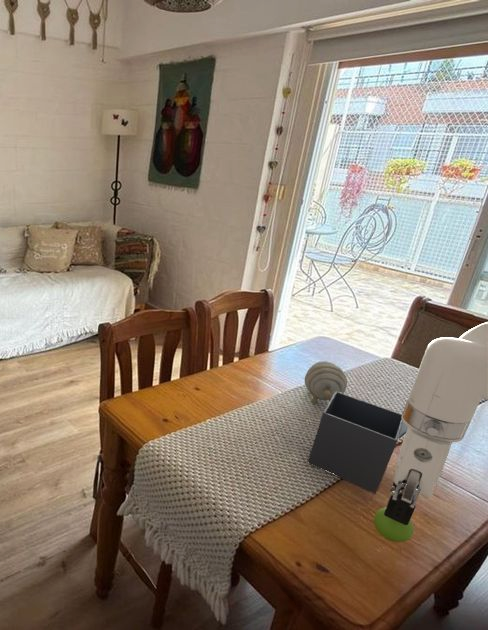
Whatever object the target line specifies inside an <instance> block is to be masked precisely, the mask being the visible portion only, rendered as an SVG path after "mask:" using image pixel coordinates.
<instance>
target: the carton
mask: <svg viewBox="0 0 488 630" xmlns="http://www.w3.org/2000/svg"><path fill="white" fill-rule="evenodd" d="M401 416H402V413H400V412H397V411H394V410H391V409H389V408H386V407H384V406H383V407H382V406H380V405H378V404H374V403H371V402H368V401H365V400H363V399H359V398H356V397H354V396H351V395H348V394H345V393H343V394H342V393H340V392H337V391H335V393H334V395H333V396H332V398H331V400H330V402H329V401H328V403H327V405H326V407H325V409H324V410H323V412H322V415H321V418H320V421H319V424H318V427H317V431H316V434H315V436H314V439H313V443H312V447H311V449H310V453H309V455H308V459H307V462H309V463H310V464H313V465H315V466H317V467H319V468H322V469H324V470H327V471H329V472H331V473H334V474H335V475H337V476H339V477H340V478H339V477H338V478H339V479H341V480H344V481H346V482H348V483H350V484H353V485H355V486H357V487H359V488H361V489H364V490H365V491H367V492H371V493H373V494H374V495H376V494H377V492H378V490H379V488H380V486H381V482H382V480H383V477H384V475H385V473H386V470H387V468H388V466H389V463H390V461H391V458H392V457H393V453H394V450H395V448H396V446H397V444H398V440H399V438H398V436H399V433H400V430H401V426H402V423H403V421H402V418H401ZM310 464H309V465H310ZM315 466H314V467H315ZM317 467H316V468H317ZM319 468H318V469H319ZM324 470H323V471H324ZM335 475H334V476H335ZM337 476H336V477H337Z"/></svg>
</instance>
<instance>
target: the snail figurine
mask: <svg viewBox="0 0 488 630" xmlns="http://www.w3.org/2000/svg"><path fill="white" fill-rule="evenodd" d="M391 488H392V490H393V489H395V487H394V486H392V485H391V486H390V489H391ZM395 490H396V489H395ZM403 491H404V489H403V490H401V491H400V492H399V493H403ZM394 492H395V491H391V492H390V491H389V494H388V499H387V504H388V502H389V499H390V497H391V495H392V496H393V495H394ZM386 507H387V506H385V507H382V508H380V509H378V510H377V511H376V512H375V514H374V515H373V523H374V527H375V529H376V531H377V532H378V533H379V535H381V537H383V538H384V539H385V540H388V541H390V542H394V543H405V542H407V541H409V540H410V539H411V538H412V537H413V534H414V532H415V531H414V530H415V529H414V524H413V521H412V519H410V521H409V523H408V525H404V524H402V523H399V522H397V521H395V520H393V519H391V518H388V517H386V516H385V515H384V512H385V509H386Z"/></svg>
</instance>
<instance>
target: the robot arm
mask: <svg viewBox="0 0 488 630" xmlns="http://www.w3.org/2000/svg"><path fill="white" fill-rule="evenodd" d="M482 400H488V321H486V322H484V323H481V324H479V325H477V326H475V327H473V328H471V329H468V331H466V332H464V333H463V334H462V335H460V336H459V338H457V337H439V338H436V339H433V340H432V341H431V342H429V343H428V345H427V346H426V349H425V351H424V354H423V356H422V359H421V362H420V364H419V368H418V371H417V373H416V376H415V379H414V382H413V384H412V387H411V389H410V392H409V394H408V397H407V399H406V403H405V406H404V408H403V411H402V413H401V414H402V416H401V418H402V421H403V422H404V424H405V425H406V426H407V427H408V428H407V431H406V434H405V435H404V436H403V440H402V443H401V446H400V450H399V453H398V457H397V461H396V466H395V471H394V477H393V483H392V485H391V486H394V487H395V489H396V490H395V489H393V490H392V488H391V487H390V491H389V493H390V492H391V491H395V492H394V495H393V496H392V495H391V497H390V499H389V498H388V499H389V502H388V501H387V503H388V504H387V505H386V506H385V507H386V509H385V512H384V515H385V516H386V517H388V518H391V519H393V520H395V521H397V522H399V523H402V524H404V525H408V523H409V521H410V519H411V518H412V516H413V514H414V511H415V509H416V504H417V501H418V497H419V495H421V496H422V497H425V498H426V499H430V498H432V497H433V495H434V492H435V489H436V486H437V484H438V481H439V479H440V476H441V473H442V472H443V469H444V466H445V464H446V461H447V459H448V456H449V452H450V450H451V447H452V444H453V443H458V442H461V441H463V440H464V437H465V435H466V433H467V431H468V428H469V427H470V424H471V422H472V419H473V417H474V415H475V413H476V411H477V409H478V406H479V404H480V402H481V401H482ZM403 489H404V491H403V493H399V492H400V491H401V490H403ZM411 520H412V519H411Z"/></svg>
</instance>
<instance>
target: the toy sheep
mask: <svg viewBox="0 0 488 630" xmlns="http://www.w3.org/2000/svg"><path fill="white" fill-rule="evenodd" d="M304 385H305V388H306V390H307V391H308V393H309V394H310V395H312V398H311V399H312V400H311V403H312V404H314V405H316V404H317V403H318V401H319V400H322V401H328V403H329V402H330V400H331V398H332V396H333V395H334V393H335V391H337V392H340V393H342V394H345V392H346V390H347V387H348V378H347V376H346V374H345V371H343V370H342V368H341V367H340V366H338V365H337V364H336V363H334V362H332V361H327V360H321V361H317V362H314V363H313V364H312V365H311V367H309V368H308V370H307V371H306V374H305V376H304Z"/></svg>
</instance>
